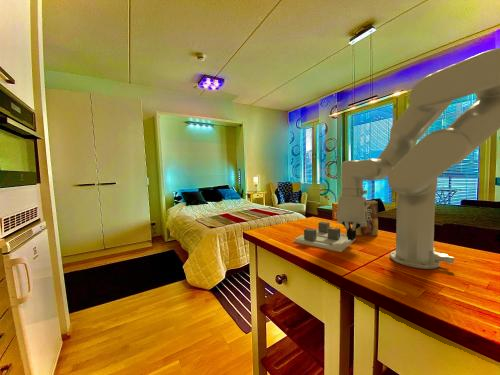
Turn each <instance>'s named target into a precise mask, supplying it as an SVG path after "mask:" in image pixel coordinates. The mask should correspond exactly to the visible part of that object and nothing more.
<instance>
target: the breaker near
mask: <svg viewBox="0 0 500 375" xmlns="http://www.w3.org/2000/svg"><path fill="white" fill-rule="evenodd" d="M303 234H304V239H305V240H310V241H315V240H316V239H317V237H316V230H315V228H310V227H309V228H308V227H307V228H304V229H303Z"/></svg>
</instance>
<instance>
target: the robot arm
mask: <svg viewBox="0 0 500 375" xmlns="http://www.w3.org/2000/svg"><path fill="white" fill-rule="evenodd" d="M473 94H475V96H476V99H475V101H474V103H473V104H471V105H470V107H468V108H467V109H466V110H465V111H464V112H462V113H461V114H460V115H459V116H458V117H457V118H456V119H455V120H454V121H453V122H452V123H451V124H449V125H448V126H447V127H446V128H440V129H437V130H433V131H432V132H430V133H428V134H426V135H425V136H424V137H423V138H422V139H421V140H419V139H420V138H421V137H422V136H423V135H424V134H425V132H427V131H428V129H429V128H431V126H432V125H433V124H434V123H435V122H436V121H437V119H439V118H440V116H441V115H442V114H443V113H445V111H446V110H447V109H448V107H450V105H451V104H452V102H453V101H454V100H458V99H461V98H465V97H467V96H471V95H473ZM408 96H409V99H408V100H409V102H410V104H409V105H408V106H407V107H406V108H405V109H404V111H403V112H402V114H401V115H400V116H399V117H398V118H397V120H396V121H395V122H394V123H393V124H392V126H391V127H390V130H389V140H388V143H387V145H386V146H385V148H384V150H383V151H381V153H380V154H379V155H378V157H377V158H367V159H361V160H345V161H342V162H341V166H340V171H341V172H340V173H341V174H340V176H341V177H340V178H341V179H340V181H341V182H340V187H341V189H340V195H339V196H338V201H337V209H336V219H337V220H336V223H338V224H341V225H342V226H343V227H344V228H345V230H346V234H347V237H348V240H352V241H353V240H354V239H355V238H356V239H357V235H356V229H357V228H359V227H365V226H367V222H366V221H367V204H366V201H367V199H366V196H364V195H367V194H368V190H365V189H364V188H363V186H364V180H365V181H377V180H384V179H386V178H387V183H388V185H389V187H390V188H391V190H392V191H394V192H396V193H397V196H396V198H397V199H396V213H395V214H396V215H395V216H396V218H395V220H396V223H395V225H396V227H395V228H396V229H395V250H393V251H391V252H390V255H389V256H390V257H389V258H391V259H392V261H394V262H395V263H398V264H400V265H403V266H406V267H409V268H410V267H411V268H415V269H423V270H432V269H433V270H434V269H437V268H439V267H440V265H441V263H440V262H442V263H448V264H451V265H453V264H454V262H455V260H454V259H455V257H454V256H449V255H448V254H447V253H440V252H438V251H435V250H436V248H435V247H434V242H435V241H434V238H435V213H436V194H437V188H438V178H439V177H440V176H441V175H443V174H444V173H445V172H446V171H448V169H450V168H451V167H453V166H454V165H457V164H459V163H461V162H463V161H464V160H465V159H466V158H468V156H470V154H472V152H474V151H475V150H476V149H478V148H479V146H481V145H482V144H483V143H485V142H486V141H488V139H490V138H491V137H492V136H493V135H494V134H495V133H496V132H497V131H499V130H500V47H499V48H493V49H490V50H486V51H483V52H481V53H478V54H475V55H474V56H473V55H472V56H471V57H468V58H466V59H464V60H462V61H459V62H456V63H454V64H451V65H449V66H446V67H444V68H443V69H440V70H437V71H435V72H433V73H431V74H428V75H426V76H425V77H423V78H421V79H420V80H418V81H417V82H416V83H415V84H414V85H413V86H412V87H411V90H410V92H409V94H408ZM351 223H352V225H351ZM354 241H355V240H354ZM354 241H353V242H354Z"/></svg>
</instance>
